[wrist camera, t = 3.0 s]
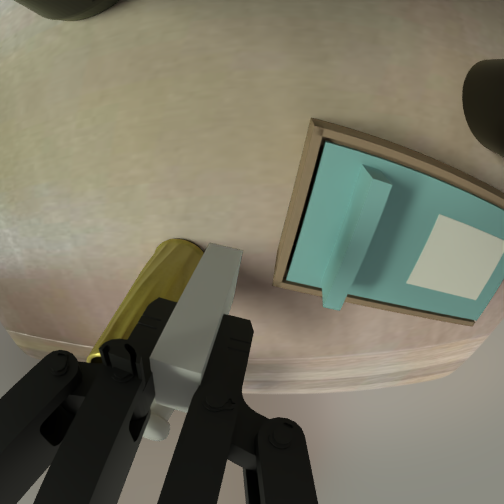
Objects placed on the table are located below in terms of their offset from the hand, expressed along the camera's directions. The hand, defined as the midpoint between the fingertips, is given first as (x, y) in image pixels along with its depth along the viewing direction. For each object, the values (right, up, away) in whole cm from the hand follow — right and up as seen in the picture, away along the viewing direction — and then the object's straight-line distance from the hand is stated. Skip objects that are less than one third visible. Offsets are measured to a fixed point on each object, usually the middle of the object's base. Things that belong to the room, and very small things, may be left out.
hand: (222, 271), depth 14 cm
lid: (+14, +1, +6) cm, 16 cm away
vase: (-6, 0, +16) cm, 17 cm away
